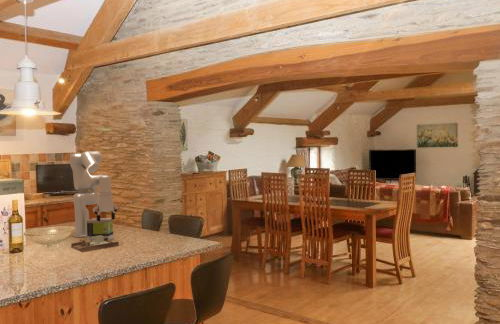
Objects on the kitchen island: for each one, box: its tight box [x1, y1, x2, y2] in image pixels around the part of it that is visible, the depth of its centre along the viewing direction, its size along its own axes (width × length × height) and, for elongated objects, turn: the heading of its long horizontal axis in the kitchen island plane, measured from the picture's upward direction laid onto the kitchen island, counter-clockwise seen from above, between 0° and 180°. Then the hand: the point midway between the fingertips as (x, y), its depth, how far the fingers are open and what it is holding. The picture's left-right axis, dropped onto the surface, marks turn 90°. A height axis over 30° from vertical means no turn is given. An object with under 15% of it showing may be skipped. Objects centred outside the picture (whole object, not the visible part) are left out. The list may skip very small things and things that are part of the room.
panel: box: [85, 235, 109, 246], centre depth 298 cm, size 14×10×5 cm
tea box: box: [86, 217, 114, 241], centre depth 317 cm, size 15×10×15 cm
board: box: [70, 237, 120, 253], centre depth 297 cm, size 18×24×5 cm
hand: (105, 220), depth 301 cm, fingers open, 9 cm apart
